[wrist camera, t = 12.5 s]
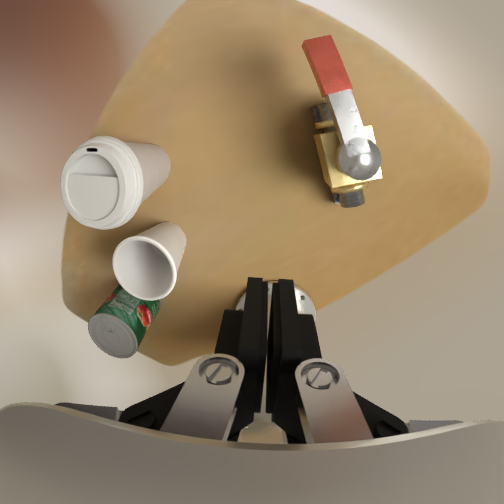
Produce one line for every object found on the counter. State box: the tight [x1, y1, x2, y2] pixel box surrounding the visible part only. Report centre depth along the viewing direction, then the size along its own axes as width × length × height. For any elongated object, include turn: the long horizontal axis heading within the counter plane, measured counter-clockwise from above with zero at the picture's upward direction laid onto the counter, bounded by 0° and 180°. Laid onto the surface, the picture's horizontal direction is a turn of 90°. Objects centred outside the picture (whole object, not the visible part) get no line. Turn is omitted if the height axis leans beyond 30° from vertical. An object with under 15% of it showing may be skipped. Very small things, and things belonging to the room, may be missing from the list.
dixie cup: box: [112, 222, 186, 301], centre depth 37 cm, size 8×8×10 cm
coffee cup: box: [61, 136, 171, 230], centre depth 31 cm, size 10×10×15 cm
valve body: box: [311, 103, 382, 208], centre depth 32 cm, size 13×6×8 cm, turn 16°
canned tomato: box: [88, 285, 161, 358], centre depth 41 cm, size 8×8×11 cm
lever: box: [302, 35, 381, 181], centre depth 25 cm, size 4×15×2 cm, turn 20°
